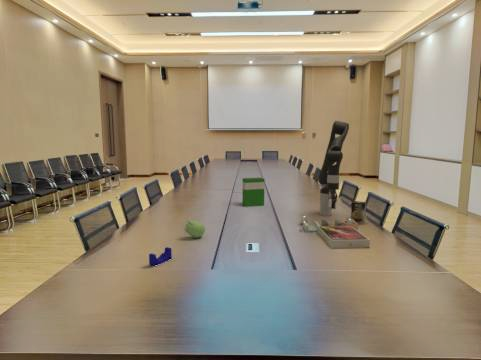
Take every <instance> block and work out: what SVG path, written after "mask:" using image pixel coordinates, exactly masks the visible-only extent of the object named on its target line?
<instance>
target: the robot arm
mask: <svg viewBox="0 0 481 360" xmlns="http://www.w3.org/2000/svg"><path fill="white" fill-rule="evenodd" d="M349 130H350V124H349V123H348V122H346V121H345V122H344V121H343V122H342V121H339V120H335V121H334V122H333V124H332V127H331V131H330V137H329V142H328V144H327V148H326V152H325V156H324V159H323V163H322V167H321V169H320V171H319V174H318V178H317V179H318V183H319V184H320V185H324V187H322V188H320V194H319V215H320V216H323V217H324V216H325V217H329V216H332V215H333V214H332V213H333V210H336V209H335V203H336V204H337V199H338V193H337V190H339V189H340V169H341V162H342V160H343V157H344V155H343V152H342V149H343V145H344V142H345V140H346V138H347V136H348V133H349ZM336 135H338V136H336ZM329 199H331V202H332V204H331V208H332V209H328V206H329Z"/></svg>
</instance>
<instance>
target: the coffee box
mask: <svg viewBox="0 0 481 360" xmlns="http://www.w3.org/2000/svg"><path fill="white" fill-rule="evenodd" d="M350 210H351V212H350V218H353V219H354V221H355V222H356V223H357V224H358V225H365V224H366V214H367V201H361V200H360V201H358V200H357V201H356V200H353V201H351V209H350Z"/></svg>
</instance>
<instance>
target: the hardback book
mask: <svg viewBox="0 0 481 360" xmlns="http://www.w3.org/2000/svg"><path fill="white" fill-rule="evenodd" d="M242 206H243V207H244V208H249V207H261V206H263V207H264V206H265V178H263V177H243V178H242Z"/></svg>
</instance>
